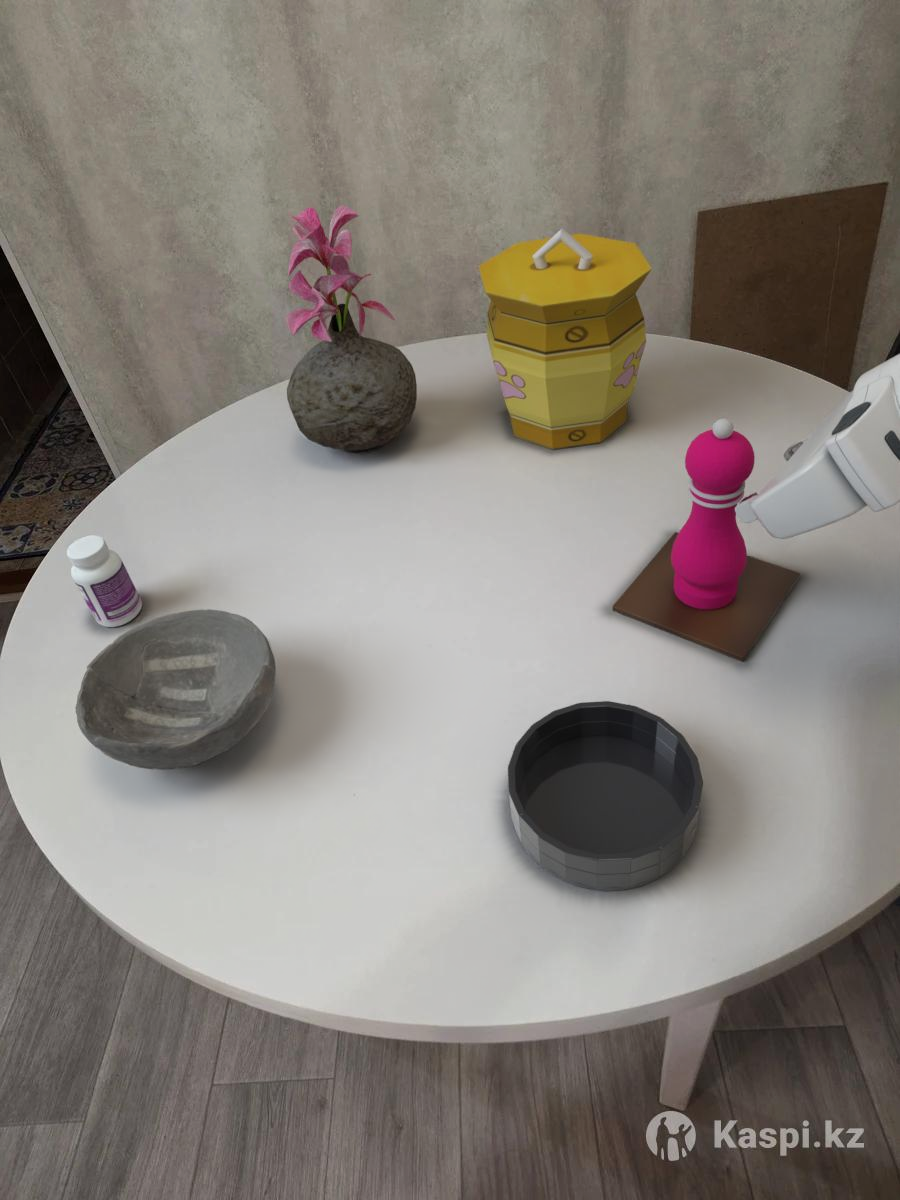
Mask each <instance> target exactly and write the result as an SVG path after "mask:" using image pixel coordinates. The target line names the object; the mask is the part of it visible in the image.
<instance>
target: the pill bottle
mask: <svg viewBox="0 0 900 1200" xmlns="http://www.w3.org/2000/svg"><path fill="white" fill-rule="evenodd" d="M66 555H67V558H68V559H69V561H70V563H71V568H70V575H71V578H72V580H73V582H74V584H75V585H76V587H77V589H78V591H79V593H80V595H81V597H82V598H83V600H84V602H85V604H86V606H87V608H88V609H89V611H90V613H91V614H92V616H93V618H94V619H95V622H97V623H98V624H99V625H101V626H103V627H107V628H115V627H120V626H123V625H125V624H128V623H129V622H131V621H132V620H133V619H135V618H136V617H137V616H138V615H139V613H140V612H141V610H142V607H143V602H142V599H141V596H140V595H139V593H138V590H137V589H136V587H135V584H134V582H133V580H132V578H131V576H130V574H129V572H128V570H127V568H126V566H125V564H124V562H123V560H122V558H121V556H120V555H119V554H118V552H116V551H114V550H112V549H110V548H109V546H108V544H107V542H106V540H105V538H103V537H102V536H100V535H97V534H96V535H95V534H92V535H91V534H90V535H86V536H83V537H80V538H78V539H76V540H74V541H73V542H72V543H71V544H70V545H69V546H68V548H67V549H66Z"/></svg>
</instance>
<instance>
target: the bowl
mask: <svg viewBox="0 0 900 1200" xmlns="http://www.w3.org/2000/svg"><path fill="white" fill-rule="evenodd" d="M275 680H276V660H275V655H274V653H273V649H272V647H271V644H270V642H269V639H268V637H266V635H265V634H264V633H263V631H262V630H261V629H260V628H259V626H257V625H256V624H255V623H254V622H253V621H252V620H250V619H249V618H247V617H246V616H242V615H240V614H237V613H232V612H229V611H225V610H219V609H211V608H209V609H192V610H185V611H180V612H173V613H169V614H165V615H162V616H160V617H155V618H153V619H151V620H148V621H145V622H144V623H141V624H139V625H138V626H136V627H133V628H131V629H129V630H127V631H125V632H124V633H122V634H121V635H119V636H118V637H116V639H115V640H113V642H111V643H110V644H108V645H107V646H106V647H104V649H103V650H101V651H100V652H98V654H97V655H96V656H95V657H94V658H93V659H92V661H90V662H89V664H87V666H86V671H85V672H84V675H83V676H82V680H81V684H80V689H79V691H78V694H77V697H76V704H75V707H74V709H75V714H76V720H77V721H76V722H77V725H78V728H79V729H80V732H81V733H82V735H83V736H84V737H85V739H87V741H88V742H89V743H90V744H92V746H94V747H95V748H97V749H98V750H99V751H100V752H102V754H104V755H105V756H107V757H108V758H110V759H113V760H115V761H118V762H120V763H123V764H126V765H129V766H131V767H132V766H133V767H136V768H138V769H139V768H140V769H146V770H161V771H171V770H179V769H185V768H189V767H193V766H196V765H198V764H200V763H203V762H206V761H209V760H210V759H212V758H214V757H216V756H219V755H221V754H223V753H225V752H227V751H228V750H229V749H231V748H232V747H234V746H235V745H236V744H237V743H238V742H240V741H241V740H242V739H243V738H244V737H245V736H246V735H247V734H248V733H249V732H250V731H251V730H252V729H253V728H254V727H255V726H256V725H257V723H258V722H259V721H260V719H262V717H263V715H264V714H265V713H266V711H267V709H268V707H269V705H270V702H271V699H272V697H273V692H274V688H275V687H274V686H275Z"/></svg>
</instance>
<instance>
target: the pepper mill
mask: <svg viewBox="0 0 900 1200" xmlns="http://www.w3.org/2000/svg"><path fill="white" fill-rule="evenodd" d="M734 428H735V427H734V424H733V422H732V421H731V420H730V419H728V418H719V419H717V420H716V421H715V422H714V424H713V425H712V429H708V430H705V431H703V432H702V433H700V434H698V435H697V436H695V437H694V439H693V440H692V441H691V442H690V444H689V446H688V448H687V449H686V453H685V458H684V467H685V470H686V473H687V475H688V477H689V480H688V488H687V492H688V496H689V498H690V499H691V500H692V505H691V509H690V513H689V516H688V518H687V519H686V521H685V523H684V525H683V526H682V527H681V529H679V530H680V531H678V532H677V533H678V535H677V537H676V539H675V542H674V544H673V548H672V553H671V563H672V566H673V568H674V570H675V575H674V592H675V594H676V596H677V597H678V599H679V600H681V601H682V602H683V603H684V604H686V605H688V606H691V607H693V608H697V609H704V610H712V609H718V608H721V607H724V606H726V605H727V604H729V603H730V602H732V601H733V599H734V598H735V596H736V593H737V587H738V577H739V576H740V575H741V574H742V573H743V571H744V569H745V566H746V560H747V556H748V554H747V546H746V543H745V539H744V536H743V535H742V532H741V531H740V528H739V526H738V522H737V513H736V512H735V507H736V506H737V505H738V504H739V503H740V502H741V501H742V500H743V499H744V497H745V489H746V481H747V480H748V479H749V477H750V476H751V475H752V473H753V470H754V467H755V458H756V457H755V452H754V448H753V445H752V444H751V441H749V439H748V438H747V437H746V436H745V435H744V434H742V433H740V432H738V431H736V430H734Z"/></svg>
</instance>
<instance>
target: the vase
mask: <svg viewBox="0 0 900 1200" xmlns="http://www.w3.org/2000/svg"><path fill="white" fill-rule="evenodd" d="M332 214H333V215H332V217H331V219H330V223H329V233H328V237H327V236H326V232H325V229H324V227H323V225H322V223H321V220H320V217H319V214H318V213H317V210H316V209H315V208H314V207H313V206H309V207H307V208H306V209H304V210H303V211H301V212H299V213H298V214H297V215H296V216H293V215H288V217H289V218H290V219H291V220H293V221H294V223H296V224H294V225H293V226H292V231H293V232H294V233H295V234H296V235H297V236H298V238H299V239H300V240H299V241H298V242H296V243H295V244H294V246H293V247H292V249H291V252H290V259H289V262H288V263H289V264H288V271H287V278H289V277H290V275H292V273H293V272H294V270H295V269H296V268H297V267H298V266H299V265H300V264H301V263H302V262H303V261H305V260H306V259H310V258H313V259H315V260H316V261H318V262H319V263H320V264H321V265H322V266H323V267H324V268H325V270H326V275H321V276H320V277H318V278H317V279H316V280H315V282H314V285H313V287H312V286H311V285H310V283H309V282H308V280H307V279H306V277H305V275H303V273H302V270H301V269H299V270H298V271H297V272H296V273H295V274H294V275H293V277H292V278H291V280H290V281H289V284H288V288H289V290H290V291H291V292H292V293H293V295H295V296H297V297H299V298H301V299H302V300H305V301H307V302H311V303H313V304H314V307H313V308H312V307H311V308H309V307H307V308H299V309H296V310H292V311H291V312H289V313H288V314H287V315H286V316H285V321H286V323H287V327H288V329H289V331H290V333H291V334H292V335H293V336H295V335H297V333H298V332H299V331H300V330H301V329H302V328H303V327H304V326H305V325H306V324H307V323H308V322H310V321H311V320H312V319H314V318H316V317H317V318H318V319H317V320H314V321H313V323H312V325H311V334H312V335H313V336H314V338H315V339H317V340H321V341H320V342H319V343H317V344H315V345H313V347H311V348H310V349H309V350H308V351H307V352H306V353H305V354H304V356H303V357H301V359H300V360H299V361H298V362H297V364H296V365H295V367H294V368H293V370H292V372H291V375H290V378H289V380H288V384H287V387H286V398H287V402H288V404H289V405H288V406H289V409H290V412H291V414H292V416H293V418H294V421H295V423H296V426H297V427H298V429H299V432H301V434H302V435H303V436H304V437H306V439H307V440H309V441H311V442H313V443H315V444H317V445H320V446H322V447H324V448H325V447H326V448H329V449H333V450H340V451H343V452H346V453H350V454H365V453H370V452H373V451H376V450H379V448H381V447H383V446H384V444H386V443H388V442H389V441H390V440H392V439H394V438H396V436H398V435H399V434H401V433H402V432H405V429H406V428H407V427H408V425H409V423H410V422H411V421H412V419H413V415H414V412H415V410H416V405H417V398H418V389H417V388H418V385H417V376H416V372H415V369H414V367H413V364H411V361H409V359H408V358H407V357H406V355H405V353H403V352H402V350H400V349H399V348H398V347H396V346H395V345H392V344H389V343H387V342H384V341H381V340H377V339H374V338H370V337H366V336H363V335H362V334H363V331H364V326H365V322H366V312H365V309H364V308H367V309H370V310H372V311H376V312H378V313H380V314H382V315H384V316H385V317H387V318H388V319H390V320H392V321H396V319H395V317H394V316H393V315H392V313H391V312H390V310H388V309H387V307H386V306H385V305H383V303H381V302H378V301H377V300H367V301H365V302H363V303H361V301H360V298H359V296H358V295H357V294H356V293H354V292H353V290H354V289H355V288H356V286H358V284H359V283H361V281H362V280H363V279H364V278H367V277H369V276H371V275H372V273H367V274H365V275H359V274H357V273H356V272H354V271H352V270H351V269H350V267H349V263H348V261H347V259H348V260H350V259H351V258H352V246H353V243H352V242H353V240H352V233H351V232H350V231H349V229H341V228H343V227H344V226H345V225H346V224H347V223H348V222H350V221H351V220H353V219H356V218H358V217H359V214H358V212H356V211H354V209H352V208H351V207H348V206H346V205H339V206H338V207H337V208H336V209H335V211H334V212H333V213H332ZM309 241H310V242H309ZM335 254H336V255H335ZM332 272H333V273H334V274H332ZM339 289H342V290H344V291H345V292H347V293H346V298H345V303H339V304H338V299H337V295H336V292H337V291H338V290H339ZM319 292H320V293H321V294H320V293H319ZM351 297H354V299H355V300H356V302H357V308H358V327H359V328H358V329H359V331H358V329H357V328H356V324H355V323H354V320H353V318H352V315H351V312H350V310H349V304H350V299H351ZM329 318H330V321H329V324H328V327H327V322H326V321H327V319H329Z"/></svg>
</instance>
